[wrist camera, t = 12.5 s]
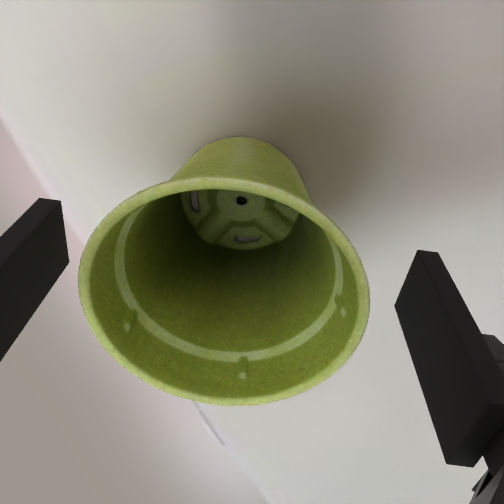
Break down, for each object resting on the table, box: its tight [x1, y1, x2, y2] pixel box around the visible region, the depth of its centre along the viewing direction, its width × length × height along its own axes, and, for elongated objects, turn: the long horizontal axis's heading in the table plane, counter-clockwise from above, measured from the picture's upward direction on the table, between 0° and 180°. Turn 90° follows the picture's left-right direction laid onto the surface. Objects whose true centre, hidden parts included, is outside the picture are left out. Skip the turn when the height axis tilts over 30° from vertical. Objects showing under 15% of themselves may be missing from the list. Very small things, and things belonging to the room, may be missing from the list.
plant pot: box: [78, 136, 370, 406], centre depth 18 cm, size 9×9×9 cm
